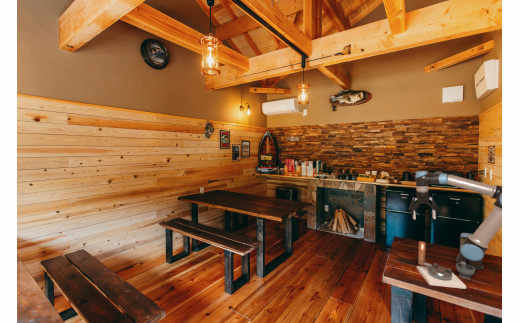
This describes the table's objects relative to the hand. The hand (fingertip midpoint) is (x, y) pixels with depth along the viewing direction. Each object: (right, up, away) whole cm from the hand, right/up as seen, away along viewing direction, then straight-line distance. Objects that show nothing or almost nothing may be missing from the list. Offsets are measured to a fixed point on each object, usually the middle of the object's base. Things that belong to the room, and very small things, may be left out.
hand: (424, 218), depth 178 cm
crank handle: (-6, -33, -18) cm, 38 cm away
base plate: (-4, -35, -21) cm, 41 cm away
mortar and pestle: (+14, -35, -20) cm, 42 cm away
